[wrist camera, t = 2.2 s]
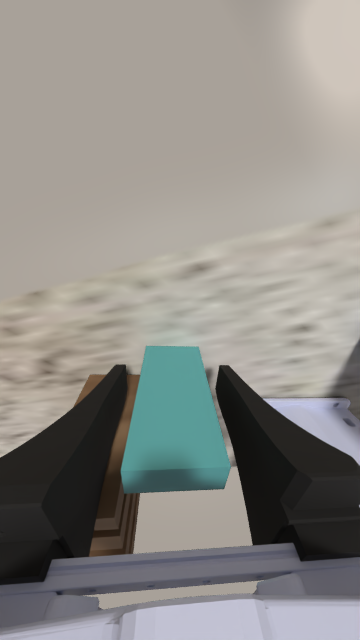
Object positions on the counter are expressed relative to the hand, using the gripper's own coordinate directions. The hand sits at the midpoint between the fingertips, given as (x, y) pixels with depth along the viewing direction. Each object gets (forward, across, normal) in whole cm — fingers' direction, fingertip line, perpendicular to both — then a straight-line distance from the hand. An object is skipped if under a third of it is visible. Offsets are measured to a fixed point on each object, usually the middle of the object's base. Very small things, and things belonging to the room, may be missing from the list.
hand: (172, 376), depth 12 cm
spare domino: (+2, 0, 0) cm, 2 cm away
